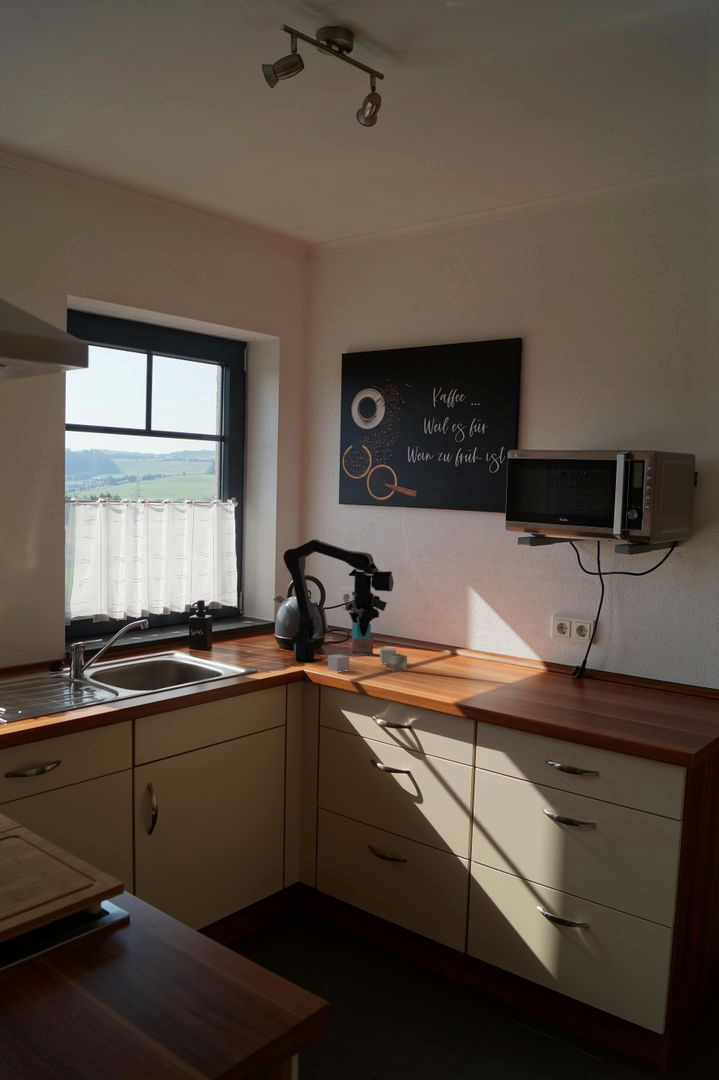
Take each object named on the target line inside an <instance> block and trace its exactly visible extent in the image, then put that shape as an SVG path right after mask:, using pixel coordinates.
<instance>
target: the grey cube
mask: <svg viewBox="0 0 719 1080" xmlns="http://www.w3.org/2000/svg"><path fill="white" fill-rule="evenodd" d="M379 650H380V651H379V654H380V655H379V662H380V661H381V662H380V664H381V663H387V654H397V649H396V648H395V647H382V646H381V647H380V649H379Z"/></svg>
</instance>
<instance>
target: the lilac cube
mask: <svg viewBox="0 0 719 1080" xmlns="http://www.w3.org/2000/svg"><path fill="white" fill-rule="evenodd" d="M327 658H328V659H327V670H328V669H329V670H333V671H337V672H338V671H345V670H349V671H350V656H348V655H344V654H340V653H339V654H330V655H328V657H327ZM329 670H328V671H329Z"/></svg>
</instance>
